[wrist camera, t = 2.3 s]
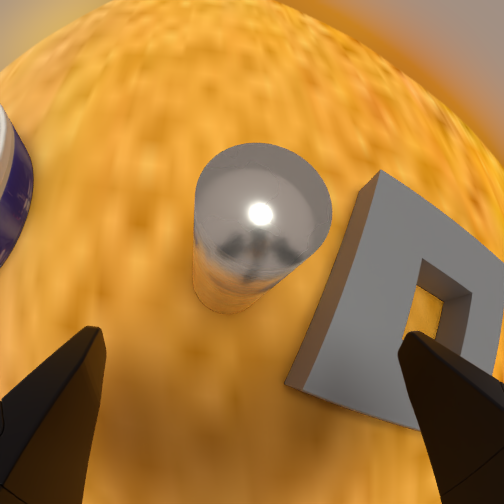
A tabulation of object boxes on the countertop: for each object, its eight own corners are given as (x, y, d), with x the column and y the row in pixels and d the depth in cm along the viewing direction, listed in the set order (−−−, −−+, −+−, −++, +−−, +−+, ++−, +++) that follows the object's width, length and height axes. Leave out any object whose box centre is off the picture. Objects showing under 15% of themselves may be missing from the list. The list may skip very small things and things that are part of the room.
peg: (210, 325, 19) (233, 292, 8) (182, 262, 20) (174, 164, 9) (272, 296, 20) (354, 235, 10) (243, 237, 21) (291, 131, 11)
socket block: (443, 437, 19) (471, 442, 15) (283, 383, 18) (302, 389, 15) (481, 276, 24) (506, 266, 21) (359, 191, 24) (380, 169, 21)
